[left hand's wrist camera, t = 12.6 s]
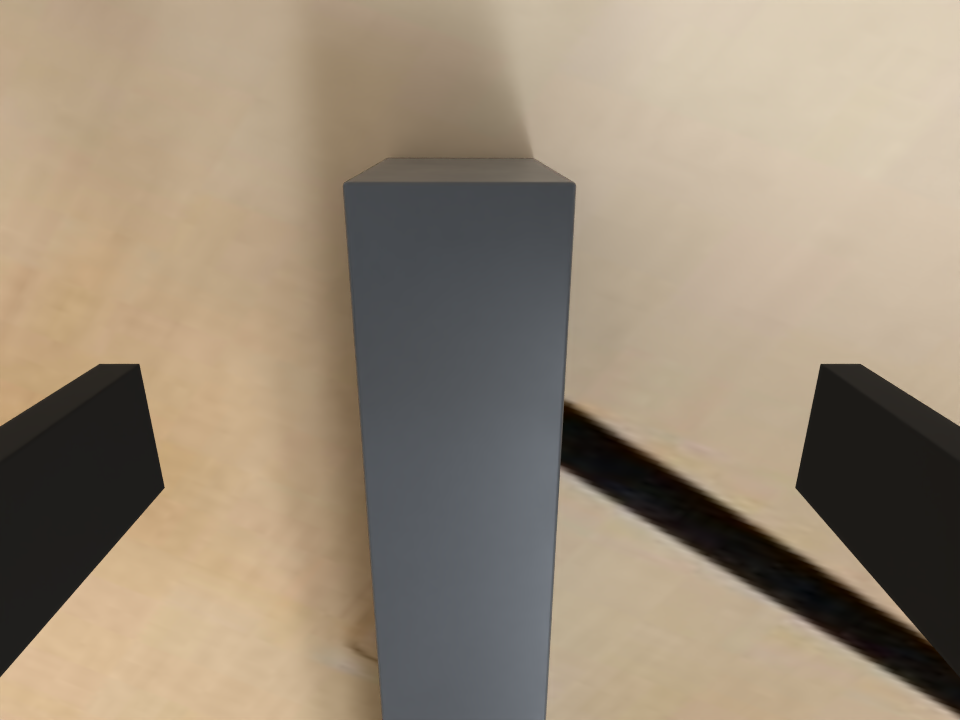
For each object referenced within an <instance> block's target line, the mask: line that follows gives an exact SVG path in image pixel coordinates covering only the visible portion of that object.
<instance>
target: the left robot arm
mask: <svg viewBox="0 0 960 720" xmlns="http://www.w3.org/2000/svg"><path fill="white" fill-rule="evenodd" d="M164 488H165V487H164V482H163V477H162V473H161V468H160V463H159V458H158V453H157V448H156V443H155V438H154V433H153V429H152V424H151V419H150V414H149V409H148V404H147V399H146V394H145V389H144V384H143V380H142V375H141V370H140V365H139V364H99V365H97V366H96V367H94V368H92V369H91V370H89V371H88V372H86V373H85V374H83V375H81V376H80V377H78V378H77V379H75V380H73V381H72V382H70V383H69V384H67V385H65V386H64V387H62V388H61V389H59V390H58V391H56V392H54V393H53V394H51V395H50V396H48V397H46V398H45V399H43V400H42V401H40V402H38V403H37V404H35V405H34V406H32V407H31V408H29V409H27V410H26V411H24V412H23V413H21V414H19V415H18V416H16V417H15V418H13V419H11V420H10V421H8V422H7V423H5V424H4V425H2V426H0V677H1V676H2V675H3V673H4V672H5V671H6V670H7V669H8V668H9V666H10V665H11V664H12V663H13V662H14V661H15V660H16V658H17V657H18V656H19V655H20V654H21V653H22V651H23V650H24V649H25V648H26V647H27V646H28V645H29V643H30V642H31V641H32V640H33V639H34V638H35V636H36V635H37V634H38V633H39V632H40V631H41V630H42V628H43V627H44V626H45V625H46V624H47V623H48V622H49V620H50V619H51V618H52V617H53V616H54V615H55V613H56V612H57V611H58V610H59V609H60V608H61V607H62V605H63V604H64V603H65V602H66V601H67V600H68V598H69V597H70V596H71V595H72V594H73V593H74V592H75V590H76V589H77V588H78V587H79V586H80V585H81V584H82V582H83V581H84V580H85V579H86V578H87V577H88V575H89V574H90V573H91V572H92V571H93V570H94V569H95V567H96V566H97V565H98V564H99V563H100V562H101V560H102V559H103V558H104V557H105V556H106V555H107V554H108V552H109V551H110V550H111V549H112V548H113V547H114V546H115V544H116V543H117V542H118V541H119V540H120V539H121V537H122V536H123V535H124V534H125V533H126V532H127V531H128V529H129V528H130V527H131V526H132V525H133V524H134V522H135V521H136V520H137V519H138V518H139V517H140V516H141V514H142V513H143V512H144V511H145V510H146V509H147V507H148V506H149V505H150V504H151V503H152V502H153V501H154V499H155V498H156V497H157V496H158V495H159V494H160V493H161V491H162V490H163V489H164ZM795 488H796V489H797V490H798V491H799V493H800V494H801V495H802V496H803V497H804V498H805V499H806V501H807V502H808V503H809V504H810V505H811V506H812V507H813V509H814V510H815V511H816V512H817V513H818V514H819V516H820V517H821V518H822V519H823V520H824V521H825V522H826V524H827V525H828V526H829V527H830V528H831V529H832V531H833V532H834V533H835V534H836V535H837V536H838V537H839V539H840V540H841V541H842V542H843V543H844V544H845V545H846V547H847V548H848V549H849V550H850V551H851V552H852V554H853V555H854V556H855V557H856V558H857V559H858V560H859V562H860V563H861V564H862V565H863V566H864V567H865V569H866V570H867V571H868V572H869V573H870V574H871V575H872V577H873V578H874V579H875V580H876V581H877V582H878V584H879V585H880V586H881V587H882V588H883V589H884V590H885V592H886V593H887V594H888V595H889V596H890V597H891V598H892V600H893V601H894V602H895V603H896V604H897V605H898V607H899V608H900V609H901V610H902V611H903V612H904V613H905V615H906V616H907V617H908V618H909V619H910V620H911V622H912V623H913V624H914V625H915V626H916V627H917V628H918V630H919V631H920V632H921V633H922V634H923V635H924V636H925V638H926V639H927V640H928V641H929V642H930V643H931V645H932V646H933V647H934V648H935V649H936V650H937V651H938V653H939V654H940V655H941V656H942V657H943V658H944V660H945V661H946V662H947V663H948V664H949V665H950V666H951V668H952V669H953V670H954V671H955V672H956V673H957V675H958V676H959V677H960V426H958V425H956V424H955V423H953V422H952V421H950V420H949V419H947V418H945V417H944V416H942V415H941V414H939V413H937V412H936V411H934V410H933V409H931V408H929V407H928V406H926V405H925V404H923V403H922V402H920V401H918V400H917V399H915V398H914V397H912V396H910V395H909V394H907V393H906V392H904V391H902V390H901V389H899V388H898V387H896V386H895V385H893V384H891V383H890V382H888V381H887V380H885V379H883V378H882V377H880V376H879V375H877V374H875V373H874V372H872V371H871V370H869V369H868V368H866V367H864V366H863V365H861V364H821V365H820V370H819V375H818V380H817V384H816V389H815V394H814V399H813V404H812V409H811V414H810V419H809V424H808V429H807V433H806V438H805V443H804V448H803V453H802V458H801V463H800V468H799V473H798V477H797V482H796V487H795Z"/></svg>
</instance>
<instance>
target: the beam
mask: <svg viewBox="0 0 960 720" xmlns="http://www.w3.org/2000/svg"><path fill="white" fill-rule="evenodd" d="M343 195H344V209H345V222H346V236H347V250H348V263H349V277H350V290H351V304H352V317H353V331H354V344H355V358H356V371H357V385H358V398H359V412H360V426H361V439H362V453H363V466H364V480H365V493H366V507H367V520H368V534H369V547H370V561H371V574H372V588H373V601H374V615H375V629H376V642H377V656H378V669H379V683H380V696H381V710H382V720H546V707H547V690H548V672H549V654H550V637H551V619H552V602H553V584H554V566H555V549H556V531H557V513H558V496H559V478H560V460H561V443H562V425H563V408H564V390H565V372H566V355H567V337H568V319H569V302H570V284H571V267H572V249H573V231H574V214H575V196H576V185H575V183H574V182H572V181H571V180H569V179H567V178H566V177H564V176H562V175H561V174H559V173H557V172H556V171H554V170H552V169H551V168H549V167H547V166H546V165H544V164H542V163H541V162H539V161H537V160H536V159H534V158H387V159H385V160H383V161H382V162H380V163H378V164H376V165H375V166H373V167H371V168H369V169H368V170H366V171H364V172H362V173H360V174H359V175H357V176H355V177H353V178H352V179H350V180H348V181H346V182H345V183H344V184H343Z"/></svg>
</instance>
